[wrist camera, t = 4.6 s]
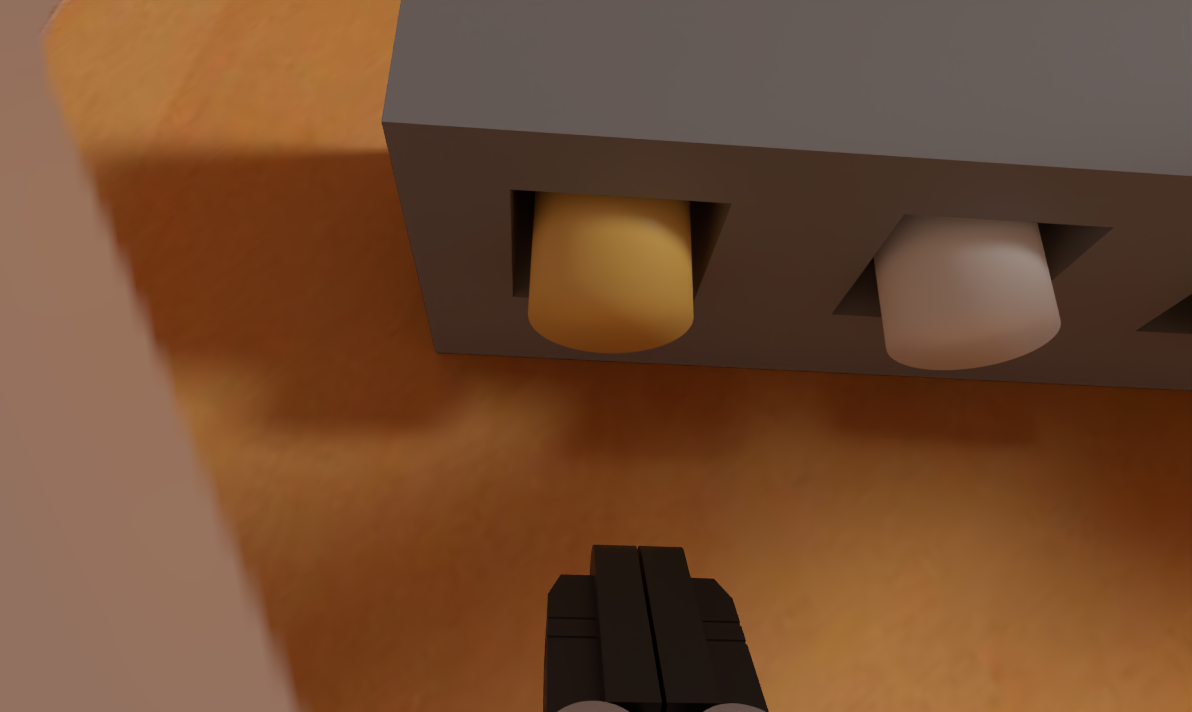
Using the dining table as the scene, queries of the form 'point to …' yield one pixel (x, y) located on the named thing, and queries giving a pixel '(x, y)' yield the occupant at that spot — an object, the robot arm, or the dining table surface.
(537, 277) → the amber button
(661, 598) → the robot arm
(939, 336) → the cream button
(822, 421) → the dining table surface
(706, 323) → the console
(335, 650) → the dining table surface
